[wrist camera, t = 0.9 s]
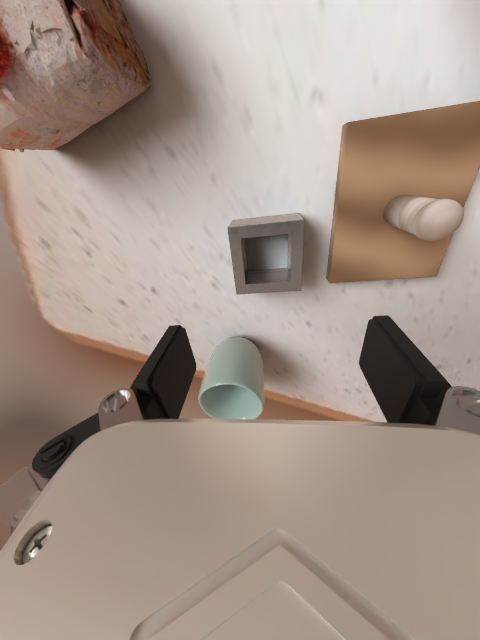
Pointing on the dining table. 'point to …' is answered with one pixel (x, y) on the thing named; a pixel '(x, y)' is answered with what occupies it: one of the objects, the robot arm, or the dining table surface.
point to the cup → (233, 381)
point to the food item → (64, 69)
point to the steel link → (273, 277)
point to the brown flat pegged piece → (402, 192)
